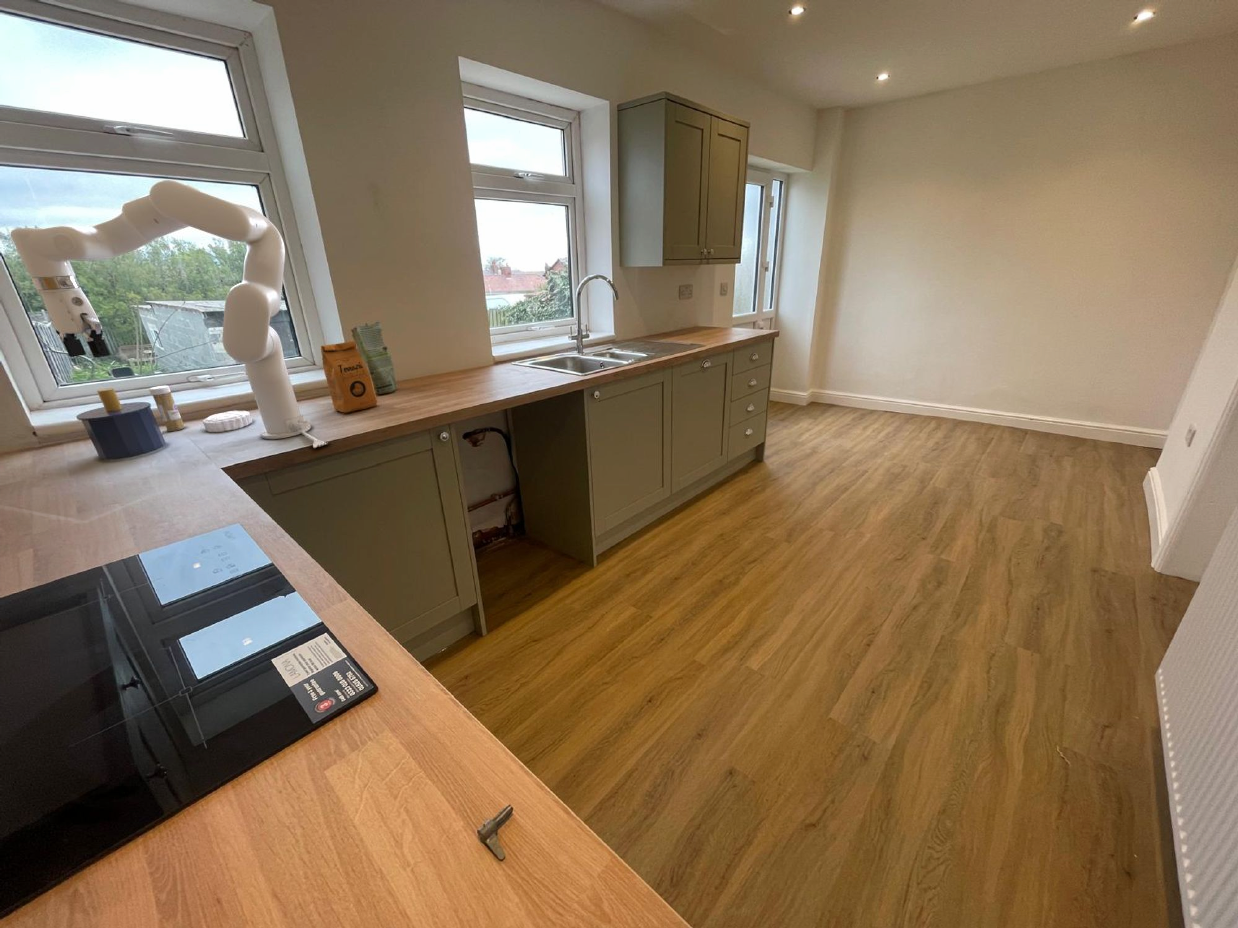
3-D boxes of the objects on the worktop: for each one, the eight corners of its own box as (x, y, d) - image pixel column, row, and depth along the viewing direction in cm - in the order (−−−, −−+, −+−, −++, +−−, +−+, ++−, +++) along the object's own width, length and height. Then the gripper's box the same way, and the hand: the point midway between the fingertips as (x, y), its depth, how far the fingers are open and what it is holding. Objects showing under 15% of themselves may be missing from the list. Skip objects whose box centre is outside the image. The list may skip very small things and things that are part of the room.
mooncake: (197, 430, 153) (192, 419, 152) (236, 418, 163) (233, 408, 162) (222, 434, 149) (217, 422, 147) (261, 421, 159) (257, 410, 158)
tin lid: (165, 407, 137) (155, 383, 135) (100, 424, 125) (88, 398, 122) (130, 405, 142) (119, 381, 139) (64, 421, 129) (52, 396, 127)
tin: (177, 444, 141) (161, 405, 137) (121, 463, 130) (101, 421, 125) (146, 441, 146) (129, 403, 141) (88, 459, 134) (67, 418, 129)
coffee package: (382, 406, 168) (366, 340, 160) (343, 416, 160) (324, 347, 151) (369, 402, 175) (353, 338, 166) (332, 411, 167) (313, 344, 158)
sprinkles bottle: (184, 429, 155) (167, 387, 149) (165, 432, 153) (147, 389, 147) (186, 425, 158) (169, 384, 153) (168, 429, 156) (150, 386, 151)
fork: (309, 432, 147) (307, 426, 146) (331, 447, 134) (329, 441, 133) (296, 435, 145) (294, 429, 144) (318, 451, 132) (316, 445, 131)
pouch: (367, 397, 181) (349, 326, 171) (366, 390, 191) (349, 323, 181) (400, 392, 185) (384, 323, 176) (397, 386, 195) (382, 320, 185)
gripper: (99, 283, 121) (129, 353, 128) (55, 284, 126) (87, 352, 133) (59, 285, 115) (93, 360, 121) (15, 287, 120) (50, 358, 127)
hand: (90, 356), depth 127 cm, fingers open, 9 cm apart
